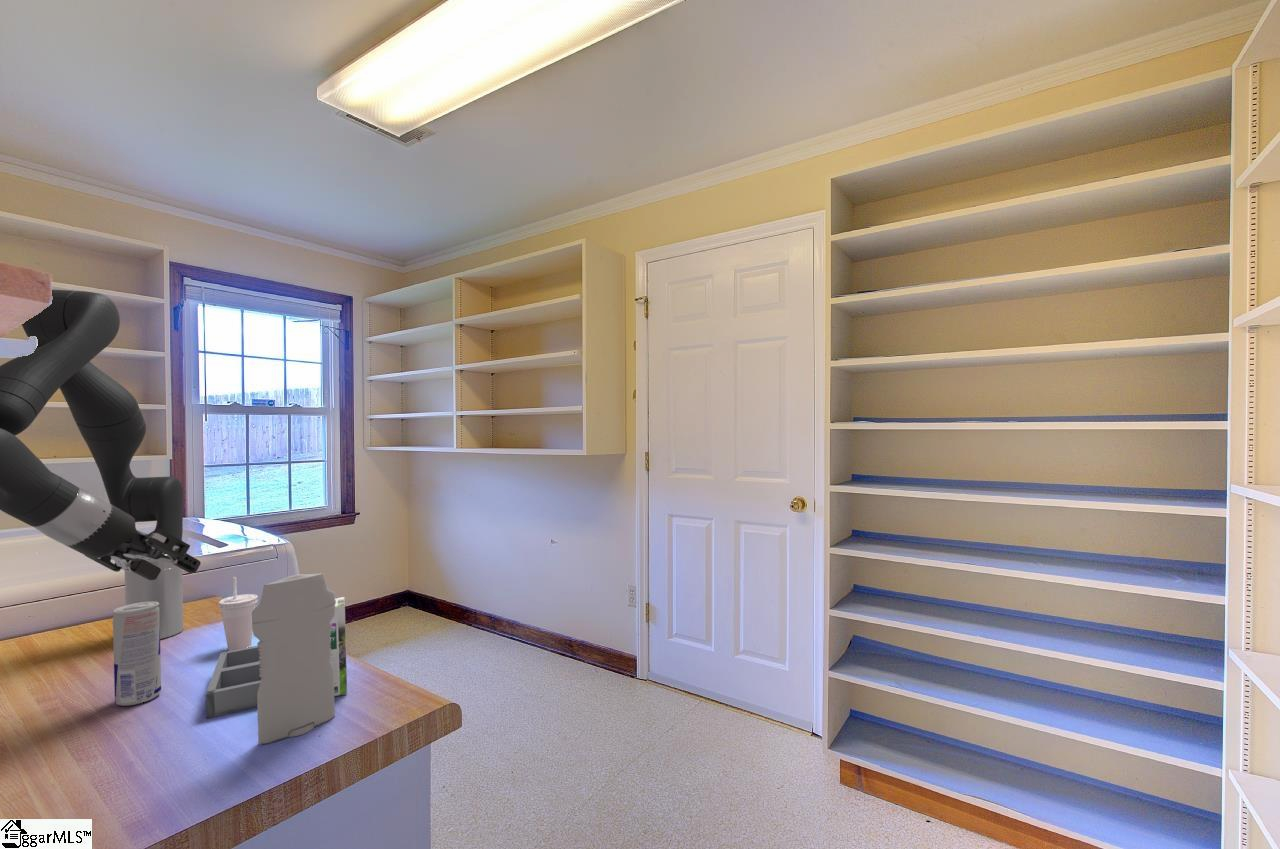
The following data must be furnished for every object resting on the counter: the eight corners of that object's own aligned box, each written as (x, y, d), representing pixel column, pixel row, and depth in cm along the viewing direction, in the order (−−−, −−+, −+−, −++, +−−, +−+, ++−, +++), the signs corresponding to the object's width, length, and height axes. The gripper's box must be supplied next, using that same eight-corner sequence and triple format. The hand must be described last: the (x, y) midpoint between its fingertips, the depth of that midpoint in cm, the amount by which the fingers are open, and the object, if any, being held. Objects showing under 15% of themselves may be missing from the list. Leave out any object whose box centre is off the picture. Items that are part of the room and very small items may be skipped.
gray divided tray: (221, 672, 101) (220, 652, 101) (284, 660, 105) (284, 640, 105) (206, 718, 85) (205, 694, 85) (281, 701, 90) (281, 678, 90)
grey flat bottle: (332, 710, 86) (328, 565, 86) (343, 718, 84) (340, 569, 84) (250, 740, 78) (246, 580, 78) (259, 751, 76) (255, 586, 76)
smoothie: (216, 648, 112) (214, 577, 112) (254, 639, 117) (252, 570, 116) (223, 657, 107) (221, 583, 107) (263, 647, 112) (261, 576, 112)
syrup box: (305, 703, 89) (303, 610, 89) (308, 688, 94) (305, 600, 94) (347, 694, 91) (344, 604, 91) (346, 680, 96) (344, 594, 96)
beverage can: (170, 691, 94) (168, 600, 94) (137, 708, 88) (135, 611, 88) (139, 690, 94) (137, 600, 94) (104, 707, 89) (102, 611, 89)
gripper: (136, 493, 87) (221, 546, 99) (65, 509, 90) (155, 558, 102) (106, 536, 82) (199, 586, 94) (32, 551, 85) (131, 598, 97)
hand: (176, 571), depth 98 cm, fingers open, 8 cm apart
